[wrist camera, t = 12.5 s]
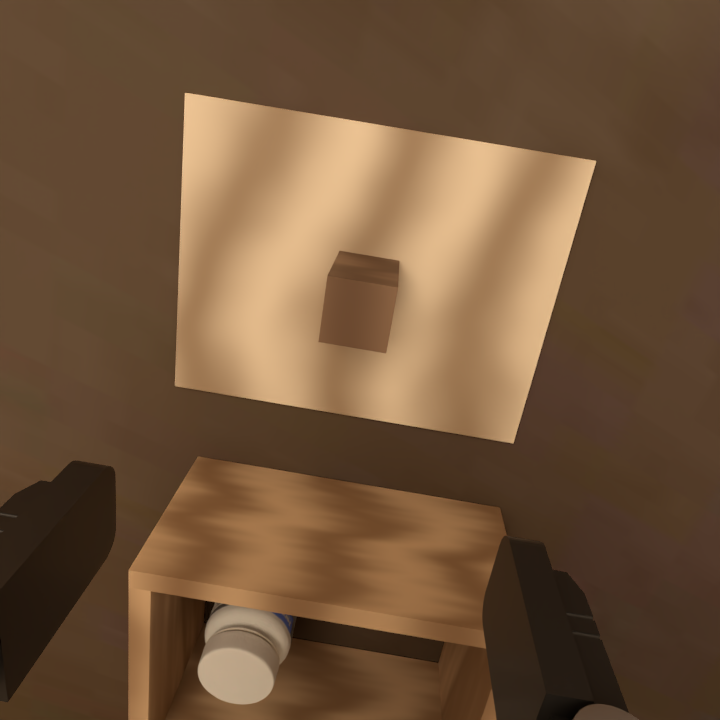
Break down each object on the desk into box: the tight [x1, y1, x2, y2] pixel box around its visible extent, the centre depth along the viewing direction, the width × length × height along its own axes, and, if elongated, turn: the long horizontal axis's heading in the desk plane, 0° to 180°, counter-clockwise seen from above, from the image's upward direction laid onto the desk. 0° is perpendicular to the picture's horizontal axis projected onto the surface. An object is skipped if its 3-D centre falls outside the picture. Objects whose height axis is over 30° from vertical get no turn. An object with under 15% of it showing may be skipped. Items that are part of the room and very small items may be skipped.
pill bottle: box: [198, 602, 297, 705], centre depth 34 cm, size 5×5×8 cm
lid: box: [175, 93, 596, 443], centre depth 28 cm, size 19×15×6 cm
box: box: [128, 456, 507, 720], centre depth 33 cm, size 18×14×10 cm
